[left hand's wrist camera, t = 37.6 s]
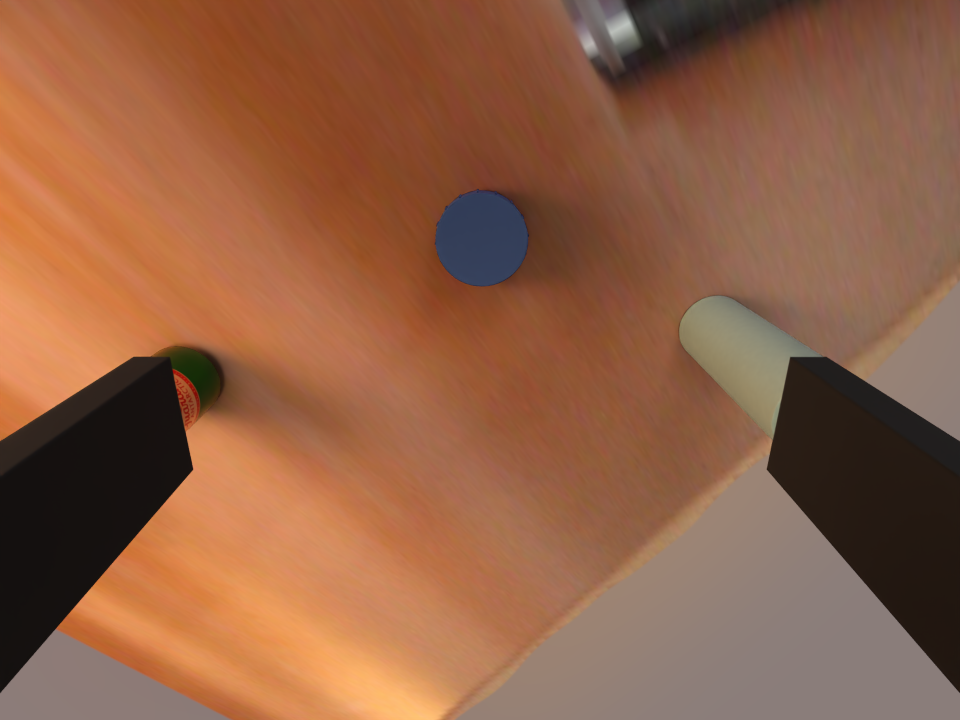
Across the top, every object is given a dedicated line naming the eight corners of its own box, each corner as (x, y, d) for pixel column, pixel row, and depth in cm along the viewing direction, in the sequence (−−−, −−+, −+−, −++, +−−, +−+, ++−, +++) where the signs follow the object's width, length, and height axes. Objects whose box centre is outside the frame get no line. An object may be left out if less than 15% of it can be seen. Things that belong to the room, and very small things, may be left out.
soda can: (234, 403, 41) (142, 502, 30) (167, 414, 42) (51, 517, 30) (209, 337, 39) (102, 416, 28) (139, 349, 40) (6, 433, 29)
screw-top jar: (759, 307, 39) (920, 406, 25) (727, 367, 40) (861, 493, 26) (697, 286, 38) (826, 374, 24) (667, 348, 40) (771, 464, 26)
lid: (433, 274, 38) (431, 281, 36) (441, 184, 36) (438, 187, 34) (519, 283, 38) (521, 291, 36) (532, 195, 36) (535, 198, 34)
